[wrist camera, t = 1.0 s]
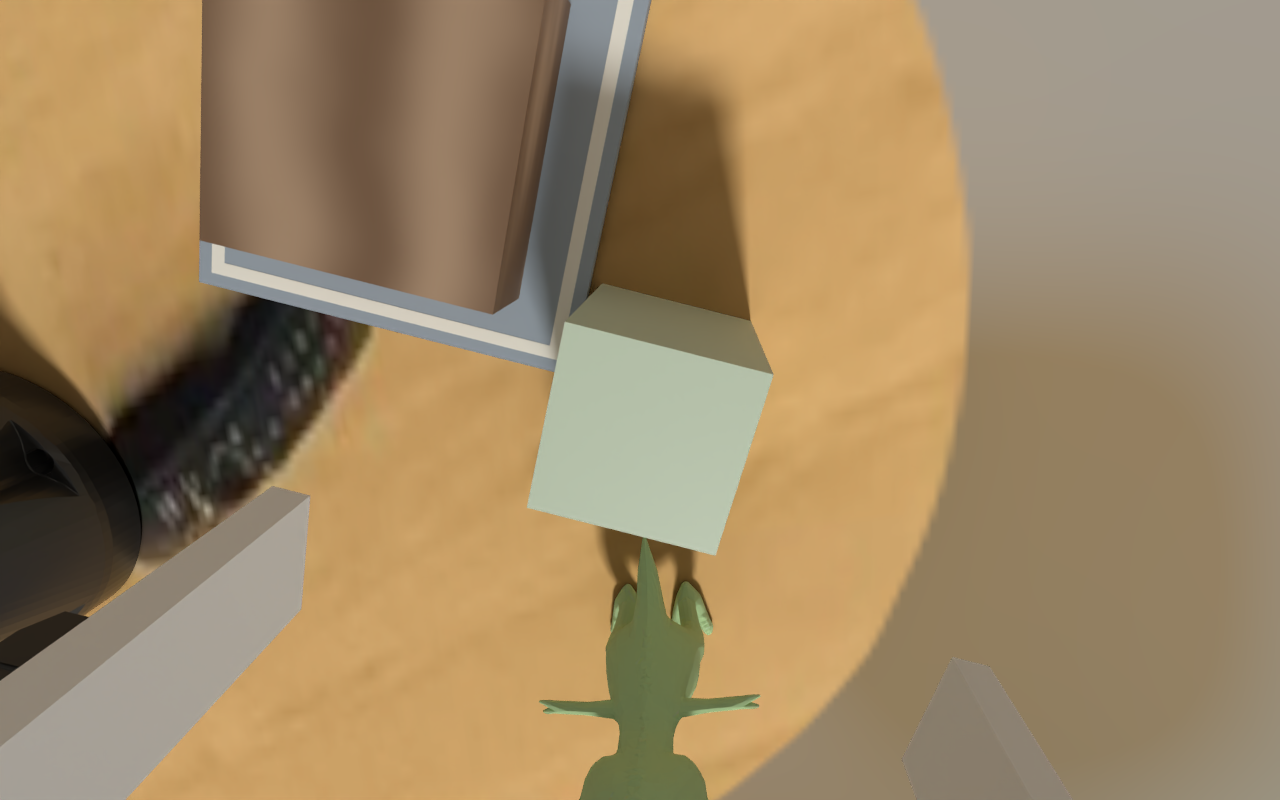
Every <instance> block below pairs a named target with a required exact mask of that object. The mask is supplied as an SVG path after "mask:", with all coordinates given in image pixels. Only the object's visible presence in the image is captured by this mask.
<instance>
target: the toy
mask: <svg viewBox="0 0 1280 800" xmlns="http://www.w3.org/2000/svg"><path fill="white" fill-rule="evenodd" d="M702 630H703V632H704V633H705V634H707V635H710V634H711V633H712V630H713V624H712V622H711V620H710V618H709V615H708V613H707V610H706V608H705V605H704V603H703V600H702V597H701V595H700V594H699V593H698V592H697V590H696V589H695V588H694V587H693V586H692V585H691V584H690V583H689V582H687V581H684V582H683V583H682V584H681V586H680V589H679V591H678V593H677V595H676V599H675V604H674V608H673V614H672V620H671V619H669V617H668V616H667V615H666V610H665V606H664V602H663V597H662V592H661V587H660V582H659V577H658V572H657V568H656V565H655V562H654V559H653V556H652V553H651V550H650V547H649V545H648V542H647V539H646V538H644V537H643V539H642V546H641V552H640V559H639V566H638V580H637V593H636V592H635V590H634V589H633V587H632V585H630V584H626V585H625V586H624V587H623V588H622V589H621V591H620V592H619V594H618V596H617V597H616V599H615V602H614V609H613V617H612V624H611V632H612V633H611V635H610V638H609V640H608V642H607V645H606V672H607V680H608V688H609V693H610V698H611V700H605V701H594V702H576V701H553V700H540V701H539V702H540V703H541V704H543V705H545V706H547V707H549V708H547V709H545V710H543V712H544V713H546V714H553V713H557V714H574V715H589V716H597V717H604V718H611V719H614V720H615V721H617V722H618V724H619V730H620V736H619V743H618V750H617V752H616V753H615V754H614V755H611V756H605V757H602V758H601V759H599V760H598V761H597V762H595V763H594V765H593V766H592V767H591V768H590V770H589V772H588V774H587V776H586V778H585V781H584V785H583V789H582V793H581V797H580V799H579V800H708V798H707V792H706V785H705V781H704V779H703V777H702V775H701V773H700V771H699V770H698V768H697V766H696V765H695V764H694V763H693V762H692V761H691V760H690V759H689V758H687V757H686V756H684V755H677V754H674V753H673V737H674V733H675V729H676V726H677V724H678V722H679V720H680V719H681V718H682V717H686V716H692V715H698V714H703V713H709V712H718V711H728V710H738V709H755V708H758V707H759V705H758V704H755V703H752V701H754V700H755V699H757V698H759V697H761V696H760V695H745V696H734V697H724V698H713V699H699V698H691V697H692V694H693V692H694V690H695V688H696V685H697V681H698V677H699V668H700V662H701V659H702V657H703V655H704V637H703V632H702Z"/></svg>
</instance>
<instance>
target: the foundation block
mask: <svg viewBox="0 0 1280 800" xmlns="http://www.w3.org/2000/svg"><path fill="white" fill-rule="evenodd" d="M570 8H571V4H570V2H569V1H568V0H202V83H201V168H200V241H204V242H208V243H212V244H216V245H220V246H224V247H228V248H232V249H236V250H239V251H243V252H247V253H251V254H255V255H259V256H263V257H267V258H271V259H275V260H279V261H283V262H287V263H291V264H295V265H299V266H303V267H306V268H310V269H314V270H318V271H322V272H326V273H330V274H334V275H338V276H342V277H346V278H350V279H354V280H358V281H362V282H366V283H369V284H373V285H377V286H381V287H385V288H389V289H393V290H397V291H401V292H405V293H409V294H413V295H417V296H421V297H425V298H429V299H433V300H436V301H440V302H444V303H448V304H452V305H456V306H460V307H464V308H468V309H472V310H476V311H480V312H484V313H488V314H492V315H493V314H495V313H496V312H498V311H500V310H501V309H503V308H504V307H506V306H508V305H509V304H511V303H512V302H514V301H516V300H517V299H519V295H520V289H521V284H522V278H523V273H524V267H525V261H526V256H527V250H528V244H529V239H530V233H531V227H532V222H533V216H534V211H535V205H536V199H537V194H538V188H539V182H540V177H541V171H542V165H543V160H544V154H545V149H546V143H547V137H548V132H549V126H550V120H551V115H552V109H553V103H554V98H555V92H556V87H557V81H558V75H559V70H560V64H561V58H562V53H563V47H564V41H565V36H566V30H567V25H568V19H569V13H570Z"/></svg>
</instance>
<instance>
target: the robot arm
mask: <svg viewBox="0 0 1280 800" xmlns="http://www.w3.org/2000/svg"><path fill="white" fill-rule="evenodd" d="M309 505H310V495H306V494H302V493H298V492H294V491H290V490H286V489H282V488H278V487H274V486H272V487H271V488H269V489H268V490H266V491H265V492H264V493H262V494H261V495H259V496H258V497H257V498H255V499H254V500H252V501H251V502H250V503H248V504H247V505H245V506H244V507H243V508H241V509H240V510H238V511H237V512H236V513H234V514H233V515H231V516H230V517H229V518H227V519H226V520H224V521H223V522H222V523H220V524H219V525H217V526H216V527H215V528H213V529H212V530H210V531H209V532H208V533H206V534H205V535H203V536H202V537H201V538H199V539H198V540H196V541H195V542H194V543H192V544H191V545H189V546H188V547H187V548H185V549H184V550H182V551H181V552H180V553H178V554H177V555H175V556H174V557H173V558H171V559H170V560H168V561H167V562H166V563H164V564H163V565H161V566H160V567H159V568H157V569H156V570H154V571H153V572H152V573H150V574H149V575H147V576H146V577H145V578H143V579H142V580H140V581H139V582H138V583H136V584H135V585H134V586H132V587H131V588H129V589H128V590H127V591H125V592H124V593H122V594H121V595H120V596H118V597H117V598H115V599H114V600H113V601H111V602H110V603H108V604H107V605H106V606H104V607H103V608H101V609H100V610H99V611H97V612H96V613H94V614H93V615H92V616H90V617H86V616H84V615H85V614H87V613H88V612H89V611H91V610H92V609H94V608H95V607H97V606H98V605H100V604H101V603H102V602H104V601H105V600H107V599H108V598H110V597H111V596H112V595H113V594H115V593H116V592H117V591H118V590H119V589H120V588H121V587H122V586H123V585H124V583H125V582H126V581H127V579H128V578H129V576H130V574H131V573H132V571H133V569H134V566H135V564H136V561H137V558H138V554H139V549H140V542H141V524H140V516H139V511H138V506H137V502H136V499H135V495H134V493H133V490H132V487H131V485H130V482H129V480H128V478H127V476H126V474H125V472H124V470H123V468H122V466H121V465H120V463H119V461H118V460H117V458H116V457H115V455H114V454H113V452H112V451H111V449H110V448H109V447H108V445H107V444H106V443H105V441H104V440H103V439H102V438H101V437H100V435H99V434H98V433H97V432H96V431H95V430H94V429H93V428H92V427H91V426H90V425H89V424H88V423H87V422H86V421H85V420H84V419H83V418H82V417H81V416H80V415H79V414H78V413H76V412H75V411H74V410H73V409H72V408H70V407H69V406H68V405H67V404H65V403H64V402H62V401H61V400H60V399H58V398H57V397H55V396H54V395H52V394H51V393H49V392H47V391H46V390H44V389H42V388H40V387H39V386H37V385H35V384H33V383H31V382H29V381H26V380H24V379H22V378H20V377H17V376H14V375H12V374H9V373H6V372H2V371H0V800H126V798H127V797H128V796H129V795H130V794H131V793H132V792H133V791H134V790H135V789H136V788H137V787H138V785H139V784H140V783H141V782H142V781H143V780H144V779H145V778H146V777H147V776H148V775H149V774H150V772H151V771H152V770H153V769H154V768H155V767H156V766H157V765H158V764H159V763H160V762H161V761H162V759H163V758H164V757H165V756H166V755H167V754H168V753H169V752H170V751H171V750H172V749H173V748H174V746H175V745H176V744H177V743H178V742H179V741H180V740H181V739H182V738H183V737H184V736H185V735H186V733H187V732H188V731H189V730H190V729H191V728H192V727H193V726H194V725H195V724H196V723H197V721H198V720H199V719H200V718H201V717H202V716H203V715H204V714H205V713H206V712H207V711H208V710H209V708H210V707H211V706H212V705H213V704H214V703H215V702H216V701H217V700H218V699H219V698H220V697H221V695H222V694H223V693H224V692H225V691H226V690H227V689H228V688H229V687H230V686H231V685H232V684H233V682H234V681H235V680H236V679H237V678H238V677H239V676H240V675H241V674H242V673H243V672H244V671H245V669H246V668H247V667H248V666H249V665H250V664H251V663H252V662H253V661H254V660H255V659H256V658H257V656H258V655H259V654H260V653H261V652H262V651H263V650H264V649H265V648H266V647H267V646H268V645H269V643H270V642H271V641H272V640H273V639H274V638H275V637H276V636H277V635H278V634H279V633H280V632H281V630H282V629H283V628H284V627H285V626H286V625H287V624H288V623H289V622H290V621H291V620H292V619H293V617H294V616H295V615H296V614H297V613H298V612H299V611H300V610H301V605H302V593H303V580H304V568H305V555H306V542H307V530H308V517H309ZM902 762H903V764H904V767H905V770H906V772H907V775H908V778H909V781H910V783H911V786H912V788H913V791H914V794H915V797H916V799H917V800H1073V799H1072V797H1071V796H1070V794H1069V792H1068V791H1067V789H1066V788H1065V786H1064V785H1063V783H1062V781H1061V780H1060V778H1059V776H1058V775H1057V773H1056V772H1055V770H1054V768H1053V767H1052V765H1051V764H1050V762H1049V761H1048V759H1047V757H1046V756H1045V754H1044V753H1043V751H1042V750H1041V748H1040V746H1039V745H1038V743H1037V741H1036V740H1035V738H1034V737H1033V735H1032V733H1031V732H1030V730H1029V729H1028V727H1027V726H1026V724H1025V722H1024V721H1023V719H1022V718H1021V716H1020V714H1019V713H1018V711H1017V710H1016V708H1015V706H1014V705H1013V703H1012V701H1011V700H1010V698H1009V697H1008V695H1007V694H1006V692H1005V690H1004V689H1003V687H1002V686H1001V684H1000V682H999V681H998V679H997V678H996V676H995V674H994V673H993V671H992V670H991V668H990V667H989V666H986V665H982V664H977V663H974V662H970V661H966V660H962V659H958V658H954V657H952V659H951V661H950V663H949V665H948V667H947V669H946V671H945V673H944V675H943V677H942V679H941V681H940V683H939V685H938V687H937V689H936V691H935V693H934V695H933V697H932V699H931V701H930V703H929V705H928V707H927V709H926V711H925V713H924V715H923V717H922V719H921V721H920V723H919V725H918V727H917V729H916V731H915V733H914V735H913V737H912V739H911V741H910V743H909V745H908V747H907V750H906V752H905V754H904V756H903V758H902Z"/></svg>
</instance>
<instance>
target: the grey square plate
mask: <svg viewBox="0 0 1280 800" xmlns="http://www.w3.org/2000/svg"><path fill="white" fill-rule="evenodd" d="M568 1H569V2H570V4H571V8H570V13H569V19H568V25H567V30H566V36H565V41H564V47H563V53H562V58H561V64H560V70H559V75H558V81H557V87H556V92H555V98H554V103H553V109H552V115H551V120H550V126H549V132H548V137H547V143H546V149H545V154H544V160H543V165H542V171H541V177H540V182H539V188H538V194H537V199H536V205H535V211H534V216H533V222H532V227H531V233H530V239H529V244H528V250H527V256H526V261H525V267H524V273H523V278H522V284H521V289H520V295H519V299H517V300H516V301H514V302H512V303H511V304H509V305H508V306H506V307H504V308H503V309H501V310H500V311H498V312H496V313H495V314H493V315H492V314H488V313H484V312H480V311H476V310H472V309H468V308H464V307H460V306H456V305H452V304H448V303H444V302H440V301H436V300H433V299H429V298H425V297H421V296H417V295H413V294H409V293H405V292H401V291H397V290H393V289H389V288H385V287H381V286H377V285H373V284H369V283H366V282H362V281H358V280H354V279H350V278H346V277H342V276H338V275H334V274H330V273H326V272H322V271H318V270H314V269H310V268H306V267H303V266H299V265H295V264H291V263H287V262H283V261H279V260H275V259H271V258H267V257H263V256H259V255H255V254H251V253H247V252H243V251H239V250H236V249H232V248H228V247H224V246H220V245H216V244H212V243H208V242H204V241H200V261H199V282H202V283H206V284H210V285H214V286H218V287H221V288H225V289H229V290H233V291H237V292H241V293H245V294H249V295H253V296H257V297H261V298H265V299H269V300H273V301H277V302H281V303H284V304H288V305H292V306H296V307H300V308H304V309H308V310H312V311H316V312H320V313H324V314H328V315H332V316H336V317H340V318H344V319H348V320H351V321H355V322H359V323H363V324H367V325H371V326H375V327H379V328H383V329H387V330H391V331H395V332H399V333H403V334H407V335H411V336H414V337H418V338H422V339H426V340H430V341H434V342H438V343H442V344H446V345H450V346H454V347H458V348H462V349H466V350H470V351H474V352H477V353H481V354H485V355H489V356H493V357H497V358H501V359H505V360H509V361H513V362H517V363H521V364H525V365H529V366H533V367H537V368H540V369H544V370H548V371H552V372H555V367H556V362H557V357H558V353H559V348H560V343H561V338H562V333H563V328H564V323H565V321H566V320H567V319H568V318H569V317H570V316H571V315H572V314H573V313H574V312H575V311H576V310H577V309H578V308H579V307H580V306H581V305H582V304H583V303H584V301H585V300H586V299H587V298H588V295H589V291H590V286H591V281H592V276H593V272H594V267H595V262H596V258H597V253H598V248H599V244H600V239H601V234H602V230H603V225H604V220H605V215H606V211H607V206H608V201H609V197H610V192H611V187H612V183H613V178H614V173H615V169H616V164H617V159H618V154H619V150H620V145H621V140H622V136H623V131H624V126H625V122H626V117H627V112H628V108H629V103H630V98H631V93H632V89H633V84H634V79H635V75H636V70H637V65H638V61H639V56H640V51H641V46H642V42H643V37H644V32H645V28H646V23H647V18H648V14H649V9H650V4H651V0H568Z"/></svg>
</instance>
